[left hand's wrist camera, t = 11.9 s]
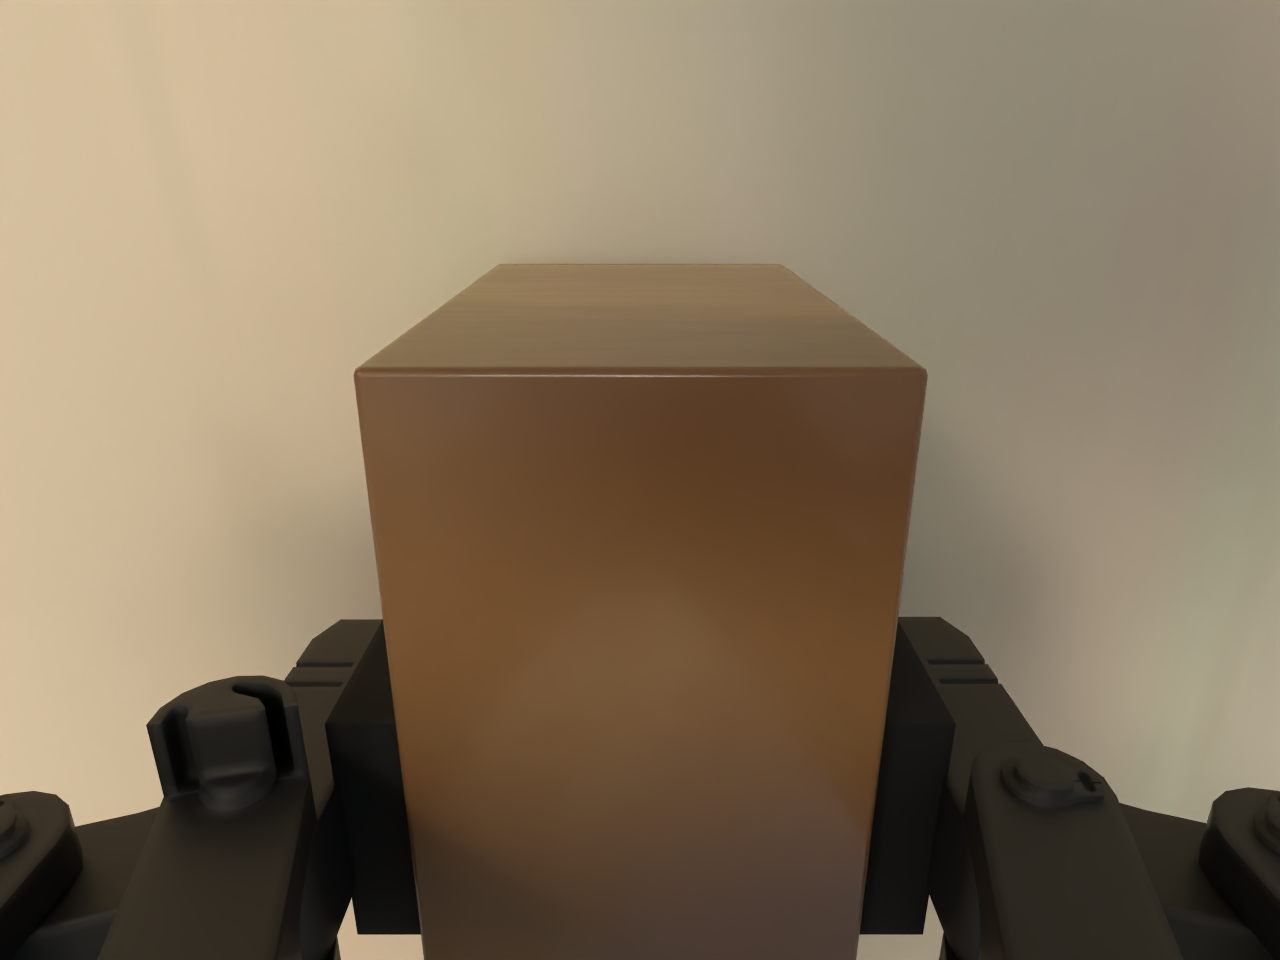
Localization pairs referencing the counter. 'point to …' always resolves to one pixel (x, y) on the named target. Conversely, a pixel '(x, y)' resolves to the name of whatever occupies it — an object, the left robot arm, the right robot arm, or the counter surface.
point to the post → (640, 607)
